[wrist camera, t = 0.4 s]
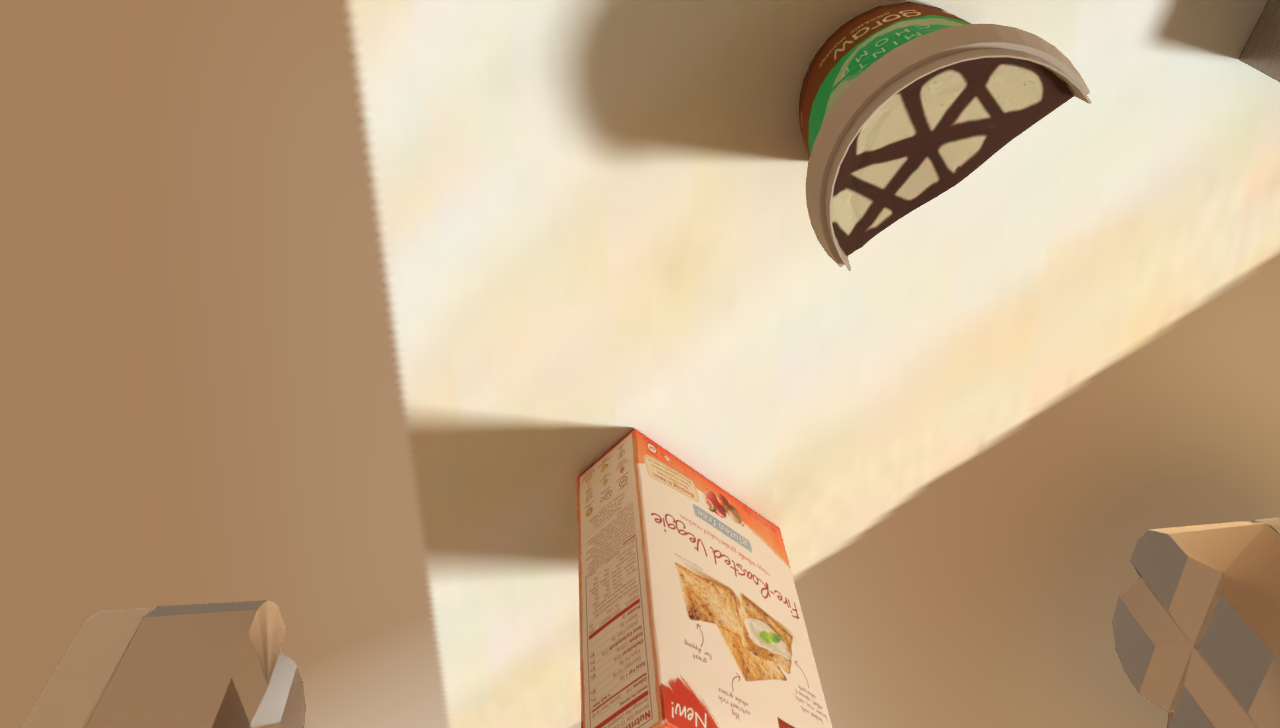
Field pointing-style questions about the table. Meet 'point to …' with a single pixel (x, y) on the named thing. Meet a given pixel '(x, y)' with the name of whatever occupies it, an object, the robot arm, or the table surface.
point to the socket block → (1265, 42)
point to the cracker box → (685, 603)
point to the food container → (915, 112)
